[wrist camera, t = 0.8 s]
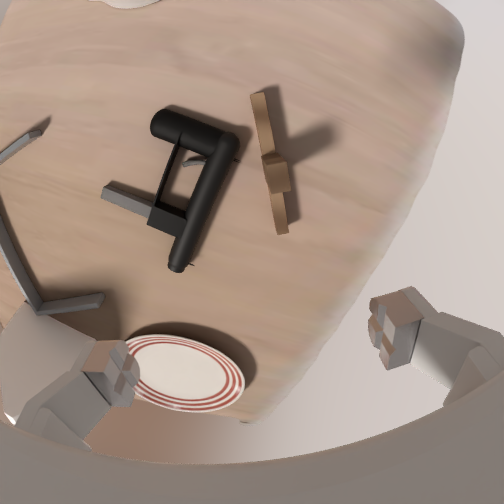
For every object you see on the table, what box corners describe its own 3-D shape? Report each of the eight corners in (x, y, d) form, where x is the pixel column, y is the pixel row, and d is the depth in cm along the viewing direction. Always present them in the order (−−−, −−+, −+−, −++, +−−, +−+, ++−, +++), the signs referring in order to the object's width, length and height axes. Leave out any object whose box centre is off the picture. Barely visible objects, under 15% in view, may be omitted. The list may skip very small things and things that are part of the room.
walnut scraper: (247, 96, 29) (251, 90, 22) (264, 93, 29) (272, 86, 21) (273, 227, 38) (282, 258, 30) (287, 224, 38) (300, 255, 30)
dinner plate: (108, 374, 53) (104, 385, 50) (135, 301, 43) (129, 314, 40) (210, 411, 61) (209, 422, 58) (270, 356, 51) (272, 369, 48)
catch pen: (-16, 172, 28) (-27, 177, 26) (40, 129, 27) (28, 132, 25) (43, 306, 43) (36, 315, 40) (105, 296, 42) (99, 307, 39)
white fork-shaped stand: (96, 338, 47) (56, 442, 25) (93, 374, 53) (66, 460, 31) (24, 301, 42) (-31, 385, 20) (31, 342, 48) (-8, 417, 26)
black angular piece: (90, 236, 34) (190, 280, 37) (129, 96, 26) (252, 142, 29) (101, 227, 37) (194, 267, 40) (139, 98, 29) (252, 141, 32)
